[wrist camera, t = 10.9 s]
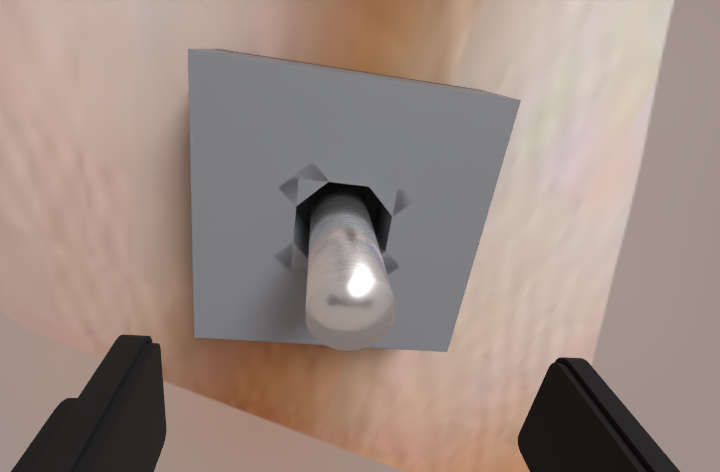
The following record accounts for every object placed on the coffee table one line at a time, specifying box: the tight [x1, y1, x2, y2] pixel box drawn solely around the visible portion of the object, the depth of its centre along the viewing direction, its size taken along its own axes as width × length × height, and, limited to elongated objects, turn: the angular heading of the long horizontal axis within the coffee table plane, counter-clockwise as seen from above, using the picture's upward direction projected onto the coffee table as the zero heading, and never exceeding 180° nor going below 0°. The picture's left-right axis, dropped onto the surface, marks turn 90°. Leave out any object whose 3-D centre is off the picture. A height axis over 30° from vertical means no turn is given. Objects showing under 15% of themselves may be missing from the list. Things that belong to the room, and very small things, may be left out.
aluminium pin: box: [305, 182, 397, 351], centre depth 18 cm, size 3×3×11 cm
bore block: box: [188, 49, 521, 352], centre depth 22 cm, size 14×14×5 cm
